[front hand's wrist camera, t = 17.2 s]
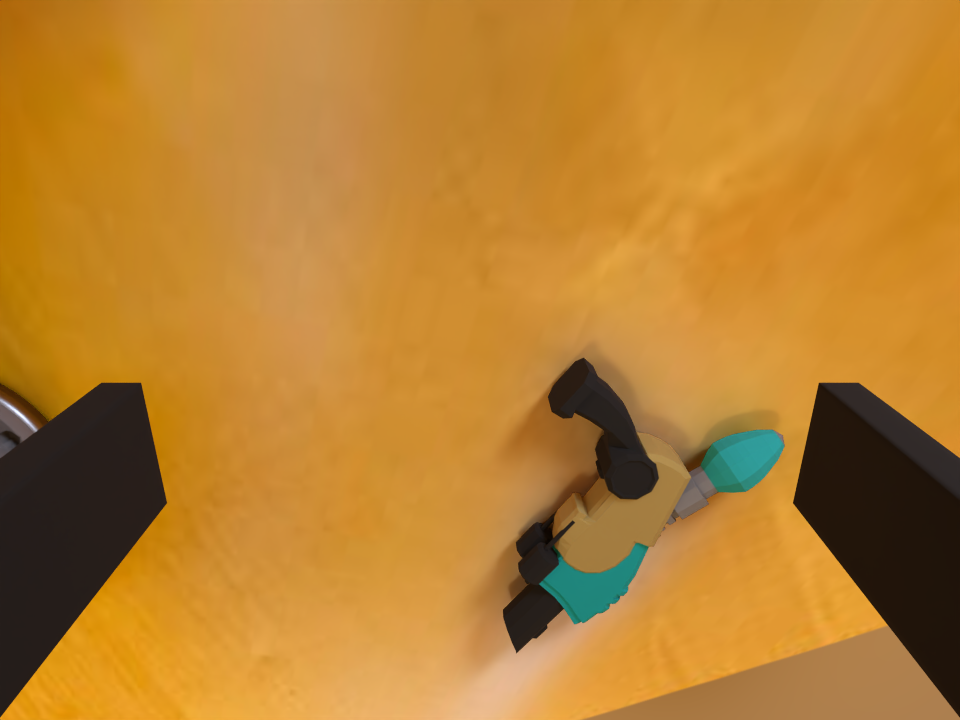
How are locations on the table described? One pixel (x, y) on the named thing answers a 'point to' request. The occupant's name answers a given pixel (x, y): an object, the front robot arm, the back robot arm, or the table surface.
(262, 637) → the table surface
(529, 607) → the toy gun
